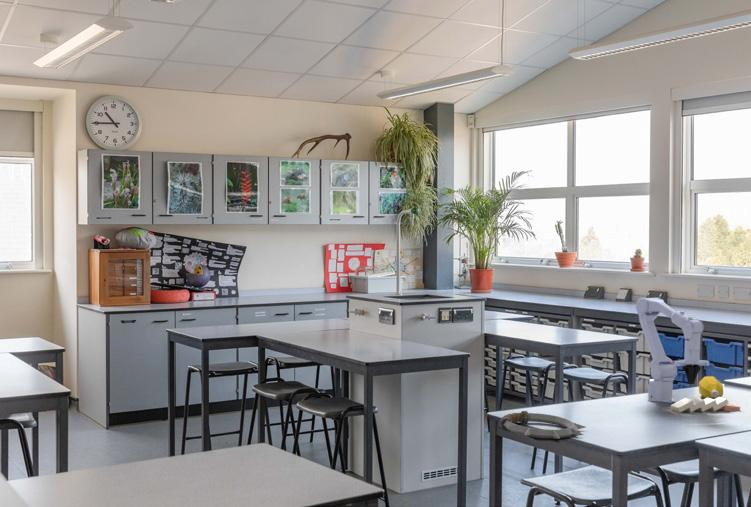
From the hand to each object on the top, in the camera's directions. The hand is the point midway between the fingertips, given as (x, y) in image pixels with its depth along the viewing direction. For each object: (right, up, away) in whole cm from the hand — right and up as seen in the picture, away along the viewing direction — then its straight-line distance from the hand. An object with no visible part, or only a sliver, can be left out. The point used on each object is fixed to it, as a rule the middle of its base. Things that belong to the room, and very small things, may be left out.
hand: (691, 383), depth 337 cm
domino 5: (+10, -8, -5) cm, 14 cm away
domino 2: (-5, -8, -8) cm, 13 cm away
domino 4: (+5, -9, -6) cm, 12 cm away
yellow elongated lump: (+16, -10, +21) cm, 28 cm away
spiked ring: (-68, -10, -45) cm, 83 cm away
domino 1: (-10, -8, -10) cm, 16 cm away
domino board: (-1, -10, -7) cm, 12 cm away
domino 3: (0, -9, -7) cm, 11 cm away
